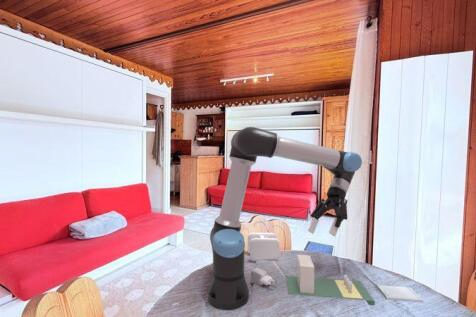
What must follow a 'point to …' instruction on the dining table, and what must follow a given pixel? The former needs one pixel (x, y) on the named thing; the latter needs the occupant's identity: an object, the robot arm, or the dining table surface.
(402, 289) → the hard drive
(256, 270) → the power adapter
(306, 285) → the block
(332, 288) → the board
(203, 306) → the dining table surface
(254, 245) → the cable organizer
